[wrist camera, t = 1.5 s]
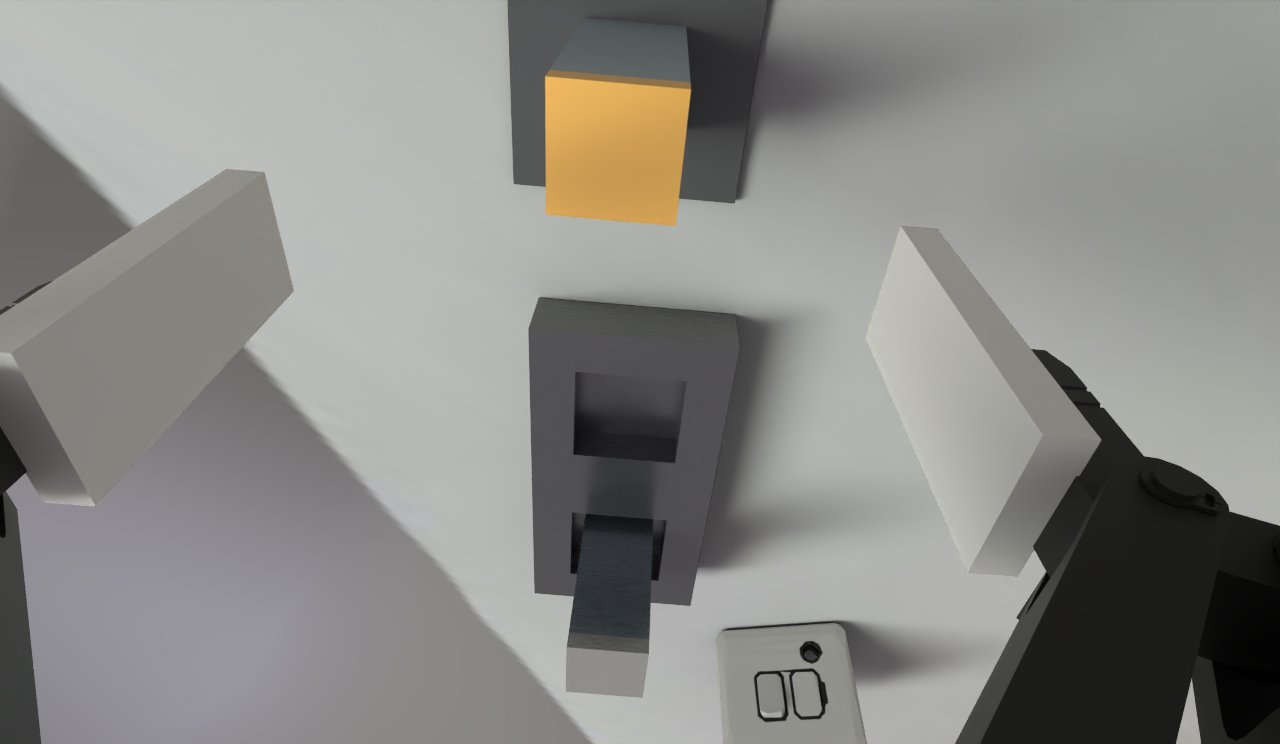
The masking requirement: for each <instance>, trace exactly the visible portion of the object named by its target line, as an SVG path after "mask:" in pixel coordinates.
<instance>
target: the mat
mask: <svg viewBox="0 0 1280 744" xmlns="http://www.w3.org/2000/svg"><path fill="white" fill-rule="evenodd" d="M767 1H768V0H508V26H509V56H510V86H511V116H512V146H513V176H514V184H520V185H532V186H543V187H546V129H545V76H546V74H547V73H548V71H549V70H550V68H551V67H552V65H553V64H554V62H555V61H556V59H557V58H558V56H559V55H560V53H561V52H562V50H563V49H564V47H565V46H566V44H567V43H568V41H569V40H570V38H571V37H572V35H573V34H574V32H575V31H576V29H577V28H578V26H579V25H580V23H581V22H582V20H583V19H584V17H586V18H597V19H608V20H619V21H630V22H641V23H652V24H663V25H674V26H685V27H686V31H687V44H688V56H689V69H690V82H691V94H690V103H689V112H688V121H687V130H686V139H685V148H684V157H683V165H682V174H681V183H680V192H679V198H680V199H691V200H703V201H714V202H725V203H735V198H736V192H737V186H738V179H739V173H740V167H741V161H742V155H743V149H744V143H745V136H746V130H747V124H748V118H749V112H750V106H751V100H752V93H753V87H754V81H755V75H756V69H757V63H758V57H759V50H760V44H761V38H762V32H763V26H764V20H765V14H766V7H767Z"/></svg>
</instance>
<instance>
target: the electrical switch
mask: <svg viewBox="0 0 1280 744" xmlns="http://www.w3.org/2000/svg"><path fill="white" fill-rule="evenodd" d="M805 651H813V652H814V654H815V655H816V656H817V657H818V658H816V659H815V660H814V661H812V660H807V659H806V658H805V657H804V653H805ZM716 657H717V670H718V682H719V694H720V706H721V719H722V731H723V743H724V744H867V741H866V736H865V731H864V726H863V721H862V715H861V710H860V705H859V700H858V695H857V689H856V684H855V679H854V674H853V669H852V663H851V658H850V653H849V648H848V643H847V637H846V632H845V630H844V629H843V628H842V626H841V625H839V624H836V623H826V624H812V625H798V626H783V627H769V628H755V629H741V630H727V631H722V632H720V634H719V635H718V636H717V638H716Z"/></svg>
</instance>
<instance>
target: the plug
mask: <svg viewBox="0 0 1280 744" xmlns="http://www.w3.org/2000/svg"><path fill="white" fill-rule="evenodd" d="M690 94H691V82H690V69H689V56H688V44H687V31H686V27H685V26H674V25H663V24H652V23H641V22H630V21H619V20H608V19H597V18H586V17H584V19H583V20H582V22H581V23H580V25H579V26H578V28H577V29H576V31H575V32H574V34H573V35H572V37H571V38H570V40H569V41H568V43H567V44H566V46H565V47H564V49H563V50H562V52H561V53H560V55H559V56H558V58H557V59H556V61H555V62H554V64H553V65H552V67H551V68H550V70H549V71H548V73H547V74H546V76H545V129H546V215H557V216H568V217H580V218H591V219H603V220H614V221H626V222H637V223H649V224H660V225H671V226H676V219H677V210H678V201H679V192H680V183H681V174H682V165H683V157H684V148H685V139H686V130H687V121H688V112H689V103H690Z"/></svg>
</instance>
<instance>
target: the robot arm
mask: <svg viewBox="0 0 1280 744" xmlns="http://www.w3.org/2000/svg"><path fill="white" fill-rule="evenodd" d="M293 291H294V290H293V286H292V282H291V277H290V273H289V269H288V265H287V261H286V257H285V253H284V249H283V245H282V241H281V237H280V233H279V229H278V225H277V221H276V217H275V213H274V209H273V205H272V201H271V197H270V193H269V189H268V185H267V181H266V177H265V173H264V172H256V171H244V170H232V169H226V170H224V171H223V172H221V173H220V174H218V175H217V176H215V177H214V178H212V179H210V180H209V181H207V182H206V183H204V184H203V185H201V186H200V187H198V188H197V189H195V190H193V191H192V192H190V193H189V194H187V195H186V196H184V197H183V198H181V199H179V200H178V201H176V202H175V203H173V204H172V205H170V206H169V207H167V208H166V209H164V210H162V211H161V212H159V213H158V214H156V215H155V216H153V217H152V218H150V219H148V220H147V221H145V222H144V223H142V224H141V225H139V226H138V227H136V228H135V229H133V230H132V231H130V232H128V233H127V234H125V235H124V236H122V237H121V238H119V239H117V240H116V241H114V242H113V243H111V244H110V245H108V246H107V247H105V248H104V249H102V250H100V251H99V252H97V253H96V254H94V255H93V256H91V257H90V258H88V259H86V260H85V261H83V262H82V263H80V264H79V265H77V266H76V267H74V268H73V269H71V270H70V271H68V272H66V273H65V274H63V275H62V276H60V277H59V278H57V279H55V280H53V281H51V282H48V283H45V284H43V285H40V286H38V287H36V288H35V289H33V290H31V291H30V292H28V293H27V294H25V295H24V296H22V297H20V298H19V299H17V300H16V301H14V302H13V303H12V307H8V306H6V307H5V308H3V309H2V310H0V744H41V737H40V728H39V718H38V708H37V699H36V689H35V679H34V670H33V659H32V650H31V640H30V630H29V621H28V612H27V601H26V593H25V592H26V591H25V582H24V572H23V562H22V553H21V544H20V533H19V524H18V514H17V509H16V507H15V505H14V503H13V502H12V500H11V499H10V497H9V496H8V494H7V492H6V490H7V489H8V488H9V487H10V486H12V485H13V484H14V483H15V482H16V481H17V480H18V479H19V478H20V477H21V476H22V475H24V474H25V473H26V474H27V476H28V478H29V479H30V481H31V482H32V484H33V486H34V487H35V489H36V490H37V492H38V494H39V495H40V497H41V498H42V500H43V502H47V503H60V504H74V505H87V506H96V505H97V504H98V503H99V502H100V501H101V500H102V499H103V498H104V496H105V495H106V494H107V493H108V492H109V491H110V490H111V489H112V488H113V487H114V486H115V484H116V483H117V482H118V481H119V480H120V479H121V478H122V477H123V476H124V475H125V474H126V473H127V471H128V470H129V469H130V468H131V467H132V466H133V465H134V464H135V463H136V462H137V461H138V460H139V458H140V457H141V456H142V455H143V454H144V453H145V452H146V451H147V450H148V449H149V448H150V447H151V445H152V444H153V443H154V442H155V441H156V440H157V439H158V438H159V437H160V436H161V434H162V433H163V432H164V431H165V430H166V429H167V428H168V427H169V426H170V425H171V424H172V423H173V422H174V421H175V419H176V418H177V417H178V416H179V415H180V414H181V413H182V412H183V411H184V409H186V407H187V406H188V405H189V404H190V403H191V402H192V401H193V400H194V399H195V398H196V397H197V396H198V394H199V393H200V392H201V391H202V390H203V389H204V388H205V387H206V386H207V385H208V383H209V382H210V381H211V380H212V379H213V378H214V377H215V376H216V375H217V374H218V373H219V372H220V371H221V369H222V368H223V367H224V366H225V365H226V364H227V363H228V362H229V361H230V360H231V359H232V358H233V356H234V355H235V354H236V353H237V352H238V351H239V350H240V349H241V348H242V347H243V346H244V344H245V343H246V342H247V341H248V340H249V339H250V338H251V337H252V336H253V335H254V334H255V333H256V331H257V330H258V329H259V328H260V327H261V326H262V325H263V324H264V323H265V322H266V321H267V320H268V318H269V317H270V316H271V315H272V314H273V313H274V312H275V311H276V310H277V309H278V308H279V306H280V305H281V304H282V303H283V302H284V301H285V300H286V299H287V298H288V297H289V296H290V295H291V293H292V292H293ZM865 338H866V340H867V342H868V345H869V347H870V349H871V352H872V354H873V356H874V359H875V361H876V363H877V365H878V368H879V370H880V372H881V375H882V377H883V379H884V382H885V384H886V386H887V388H888V391H889V393H890V395H891V398H892V400H893V402H894V405H895V407H896V409H897V411H898V414H899V416H900V418H901V421H902V423H903V425H904V428H905V430H906V432H907V434H908V437H909V439H910V441H911V444H912V446H913V448H914V451H915V453H916V455H917V458H918V460H919V462H920V464H921V467H922V469H923V471H924V474H925V476H926V478H927V481H928V483H929V485H930V487H931V490H932V492H933V494H934V497H935V499H936V501H937V504H938V506H939V508H940V510H941V513H942V515H943V517H944V520H945V522H946V524H947V527H948V529H949V531H950V533H951V536H952V538H953V540H954V543H955V545H956V547H957V550H958V552H959V554H960V556H961V559H962V561H963V563H964V566H965V568H966V570H967V573H977V574H990V575H1003V576H1016V577H1017V576H1018V575H1019V573H1020V572H1021V570H1022V568H1023V567H1024V565H1025V563H1026V562H1027V560H1028V559H1029V557H1030V555H1031V554H1032V552H1033V550H1035V551H1036V553H1037V555H1038V557H1039V559H1040V560H1041V562H1042V564H1043V566H1044V568H1045V570H1046V573H1045V574H1044V576H1043V578H1042V579H1041V581H1040V582H1039V584H1038V585H1037V587H1036V588H1035V590H1034V591H1033V593H1032V594H1031V596H1030V598H1029V599H1028V601H1027V602H1026V604H1025V605H1024V607H1023V608H1022V610H1021V611H1020V613H1019V614H1018V616H1017V619H1019V622H1018V623H1017V625H1016V627H1015V629H1014V631H1013V633H1012V635H1011V637H1010V639H1009V641H1008V643H1007V645H1006V647H1005V649H1004V650H1003V652H1002V654H1001V656H1000V658H999V660H998V662H997V664H996V666H995V668H994V670H993V672H992V674H991V676H990V677H989V679H988V681H987V683H986V685H985V687H984V689H983V691H982V693H981V695H980V697H979V699H978V701H977V703H976V704H975V706H974V708H973V710H972V712H971V714H970V716H969V718H968V720H967V722H966V724H965V726H964V728H963V730H962V731H961V733H960V735H959V737H958V739H957V741H956V743H955V744H1176V740H1177V736H1178V732H1179V728H1180V724H1181V720H1182V716H1183V711H1184V707H1185V703H1186V699H1187V695H1188V691H1189V687H1190V682H1191V678H1192V682H1193V689H1194V696H1195V703H1196V710H1197V717H1198V724H1199V731H1200V738H1201V744H1280V526H1278V525H1275V524H1271V523H1268V522H1264V521H1261V520H1257V519H1254V518H1250V517H1247V516H1243V515H1240V514H1236V513H1232V512H1229V507H1228V504H1227V503H1226V501H1225V500H1224V499H1223V497H1222V496H1221V495H1220V494H1219V492H1218V491H1217V490H1216V489H1215V488H1213V487H1212V486H1211V485H1209V484H1208V483H1207V482H1206V481H1204V480H1203V479H1202V478H1201V477H1199V476H1197V475H1195V474H1193V473H1192V472H1190V471H1188V470H1186V469H1184V468H1182V467H1181V466H1178V465H1175V464H1172V463H1169V462H1167V461H1164V460H1161V459H1158V458H1151V457H1144V456H1143V455H1142V453H1141V452H1140V451H1139V450H1138V449H1137V447H1136V446H1135V445H1134V444H1133V443H1132V441H1131V440H1130V439H1129V438H1128V437H1127V435H1126V434H1125V433H1124V432H1123V431H1122V429H1121V428H1120V427H1119V426H1118V425H1117V423H1116V422H1115V421H1114V420H1113V418H1112V417H1111V416H1110V415H1109V414H1108V412H1107V411H1106V410H1105V409H1104V408H1100V403H1099V402H1098V400H1097V399H1096V398H1095V397H1094V396H1093V394H1092V393H1091V392H1088V391H1087V387H1086V386H1085V385H1084V384H1083V382H1082V381H1081V380H1080V379H1079V378H1078V376H1077V375H1076V374H1075V373H1074V372H1073V370H1072V369H1071V368H1070V367H1068V366H1067V365H1065V364H1064V363H1062V362H1061V361H1060V360H1058V359H1057V358H1055V357H1054V356H1052V355H1051V354H1050V353H1048V352H1047V351H1045V350H1035V349H1030V347H1029V346H1028V345H1027V344H1026V342H1025V341H1024V340H1023V338H1022V337H1021V336H1020V335H1019V333H1018V332H1017V331H1016V329H1015V328H1014V327H1013V326H1012V324H1011V323H1010V322H1009V320H1008V319H1007V318H1006V317H1005V315H1004V314H1003V313H1002V311H1001V310H1000V309H999V308H998V306H997V305H996V304H995V302H994V301H993V300H992V299H991V297H990V296H989V295H988V294H987V292H986V291H985V290H984V288H983V287H982V286H981V285H980V283H979V282H978V281H977V279H976V278H975V277H974V276H973V274H972V273H971V272H970V270H969V269H968V268H967V267H966V265H965V264H964V263H963V261H962V260H961V259H960V258H959V256H958V255H957V254H956V252H955V251H954V250H953V249H952V247H951V246H950V245H949V243H948V242H947V241H946V240H945V238H944V237H943V236H942V234H941V233H940V232H939V231H938V229H932V228H920V227H908V226H900V229H899V233H898V236H897V239H896V242H895V245H894V248H893V252H892V255H891V258H890V261H889V264H888V267H887V271H886V274H885V277H884V280H883V283H882V286H881V290H880V293H879V296H878V299H877V302H876V306H875V309H874V312H873V315H872V318H871V321H870V325H869V328H868V331H867V334H866V337H865Z"/></svg>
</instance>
